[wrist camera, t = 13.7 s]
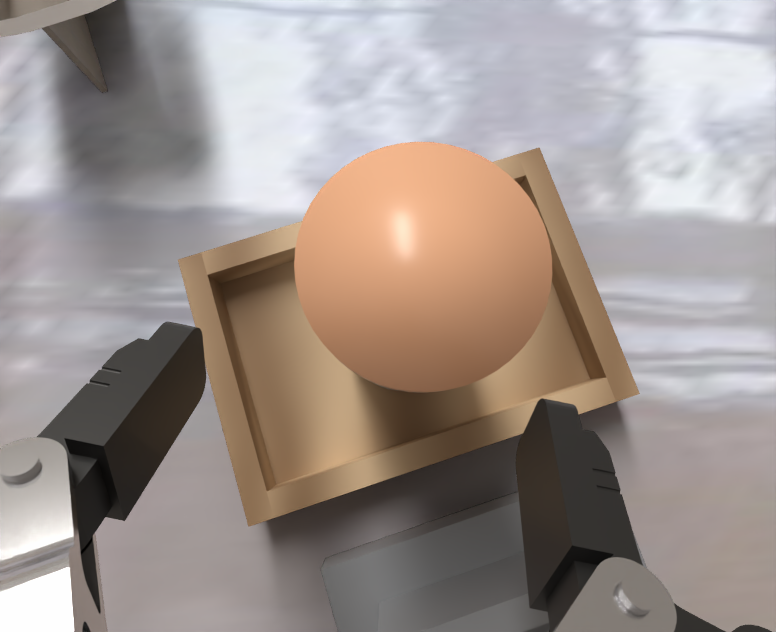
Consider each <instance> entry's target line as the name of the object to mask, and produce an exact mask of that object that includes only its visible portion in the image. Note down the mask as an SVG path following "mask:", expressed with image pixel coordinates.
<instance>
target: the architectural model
mask: <svg viewBox="0 0 776 632" xmlns="http://www.w3.org/2000/svg"><path fill="white" fill-rule="evenodd" d="M114 1H116V0H0V37H4V36H11V35H17V34H22V33H26V32H31V31H34V30H37V29H40V28H42V29H43V30H44V31H45V32H46V33H47V34H48V36H49V37H50V38H51V39H52V40H53V41H54V42H55V43H56V44H57V45H58V46H59V47H60V48H61V49H62V50H63V52H64V53H65V54H66V55H67V56H68V57H69V58H70V59H71V60H72V61H73V62H74V63H75V64H76V65H77V67H78V68H79V69H80V70H81V71H82V72H83V73H84V74H85V75H86V76H87V77H88V78H89V79H90V80H91V81H92V83H93V84H94V85H95V86H96V87H97V88H98V89H99V90H100V91H101V92H102V93H104V92H107V91H108V90H107V87H106V84H105V80H104V77H103V74H102V71H101V67H100V64H99V61H98V58H97V54H96V51H95V48H94V45H93V41H92V38H91V35H90V32H89V28H88V25H87V22H86V19H85V15H84V14H87V13H90V12H93V11H95V10H97V9H99V8H101V7H103V6H105V5H108V4H110V3H112V2H114Z"/></svg>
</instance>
